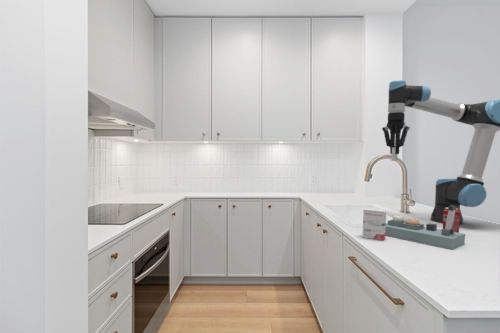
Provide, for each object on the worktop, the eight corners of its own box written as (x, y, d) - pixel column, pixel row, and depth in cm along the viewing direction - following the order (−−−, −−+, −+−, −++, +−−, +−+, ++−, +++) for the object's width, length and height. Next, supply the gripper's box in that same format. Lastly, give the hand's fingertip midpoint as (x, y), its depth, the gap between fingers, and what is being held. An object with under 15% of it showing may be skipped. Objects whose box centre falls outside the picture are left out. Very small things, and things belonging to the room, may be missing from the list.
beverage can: (443, 232, 152) (444, 206, 151) (459, 234, 148) (461, 208, 147) (441, 234, 147) (442, 208, 147) (457, 237, 143) (459, 210, 143)
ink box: (385, 238, 139) (386, 210, 138) (383, 240, 135) (385, 211, 134) (364, 235, 143) (365, 208, 143) (361, 237, 139) (363, 209, 138)
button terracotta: (410, 224, 144) (410, 219, 144) (420, 226, 141) (420, 220, 141) (405, 226, 142) (405, 220, 141) (416, 228, 138) (416, 222, 138)
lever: (447, 232, 133) (452, 205, 132) (451, 233, 132) (457, 206, 130) (443, 233, 130) (448, 205, 129) (447, 235, 129) (453, 206, 128)
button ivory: (395, 220, 149) (395, 214, 149) (405, 221, 146) (405, 216, 146) (390, 221, 146) (391, 215, 146) (400, 223, 143) (400, 217, 143)
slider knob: (429, 228, 140) (429, 223, 140) (436, 230, 138) (436, 224, 138) (426, 229, 138) (426, 224, 138) (433, 231, 136) (434, 225, 136)
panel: (393, 229, 155) (394, 216, 155) (464, 243, 133) (465, 228, 133) (378, 234, 146) (379, 220, 145) (452, 249, 124) (452, 233, 123)
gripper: (379, 113, 164) (377, 160, 165) (406, 110, 154) (404, 161, 155) (387, 114, 169) (385, 160, 170) (413, 112, 159) (411, 161, 160)
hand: (394, 160), depth 163 cm, fingers closed
